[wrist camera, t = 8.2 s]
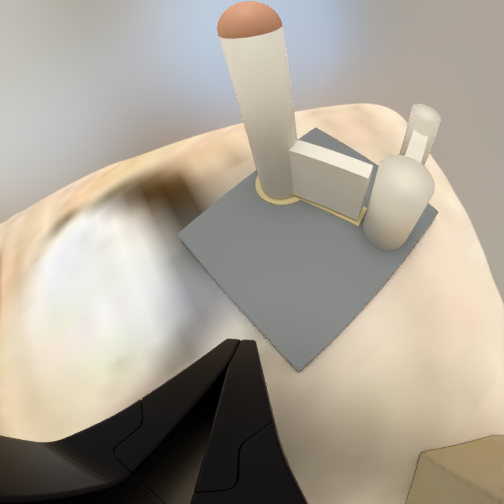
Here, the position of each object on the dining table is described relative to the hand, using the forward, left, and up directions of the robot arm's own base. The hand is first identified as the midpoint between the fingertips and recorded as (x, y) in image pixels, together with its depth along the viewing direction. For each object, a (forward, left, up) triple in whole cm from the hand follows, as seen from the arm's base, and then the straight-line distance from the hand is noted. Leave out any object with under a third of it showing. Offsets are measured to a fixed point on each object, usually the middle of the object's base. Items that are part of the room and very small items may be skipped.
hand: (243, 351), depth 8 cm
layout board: (+9, +6, -11) cm, 15 cm away
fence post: (+10, +7, -9) cm, 16 cm away
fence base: (+15, +2, -11) cm, 19 cm away
